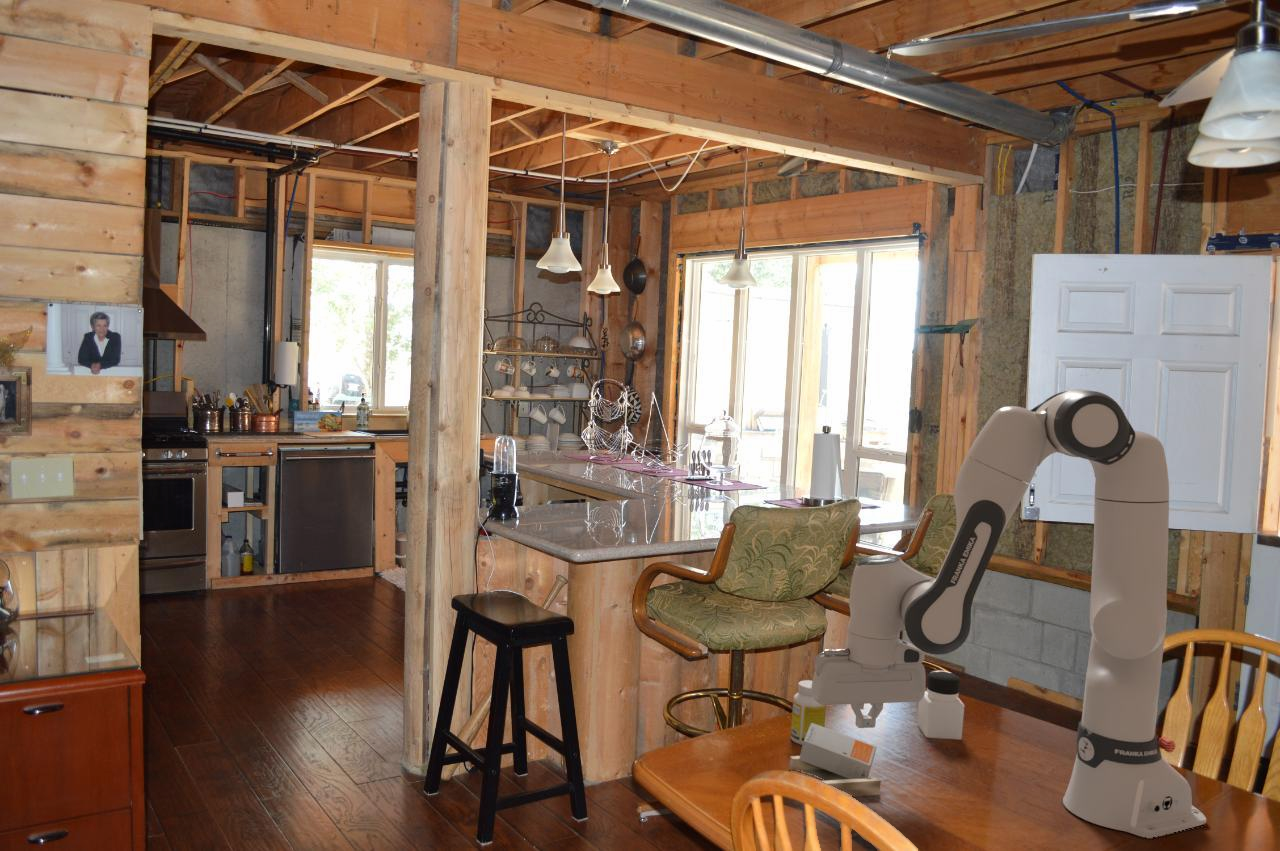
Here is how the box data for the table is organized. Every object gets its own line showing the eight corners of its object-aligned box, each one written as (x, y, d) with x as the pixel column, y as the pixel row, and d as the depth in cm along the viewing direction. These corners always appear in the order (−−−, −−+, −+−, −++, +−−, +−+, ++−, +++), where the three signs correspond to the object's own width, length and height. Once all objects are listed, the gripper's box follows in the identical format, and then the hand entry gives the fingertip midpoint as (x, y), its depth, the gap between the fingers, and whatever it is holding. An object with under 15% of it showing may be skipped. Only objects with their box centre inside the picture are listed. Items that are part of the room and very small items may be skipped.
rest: (848, 766, 183) (849, 753, 183) (879, 794, 172) (880, 780, 172) (789, 770, 180) (790, 756, 180) (816, 798, 169) (817, 784, 169)
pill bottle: (828, 740, 195) (832, 683, 195) (815, 750, 190) (820, 692, 189) (798, 731, 199) (802, 676, 198) (785, 741, 194) (789, 684, 193)
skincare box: (871, 766, 174) (803, 741, 177) (865, 785, 175) (798, 760, 179) (877, 745, 179) (811, 721, 183) (871, 764, 181) (806, 740, 184)
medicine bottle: (962, 740, 200) (967, 680, 199) (925, 738, 200) (931, 678, 199) (951, 726, 207) (957, 668, 206) (916, 724, 207) (921, 666, 206)
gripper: (824, 655, 170) (817, 736, 171) (933, 653, 175) (926, 731, 177) (808, 644, 176) (802, 722, 177) (914, 642, 182) (907, 717, 183)
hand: (865, 726), depth 177 cm, fingers closed
